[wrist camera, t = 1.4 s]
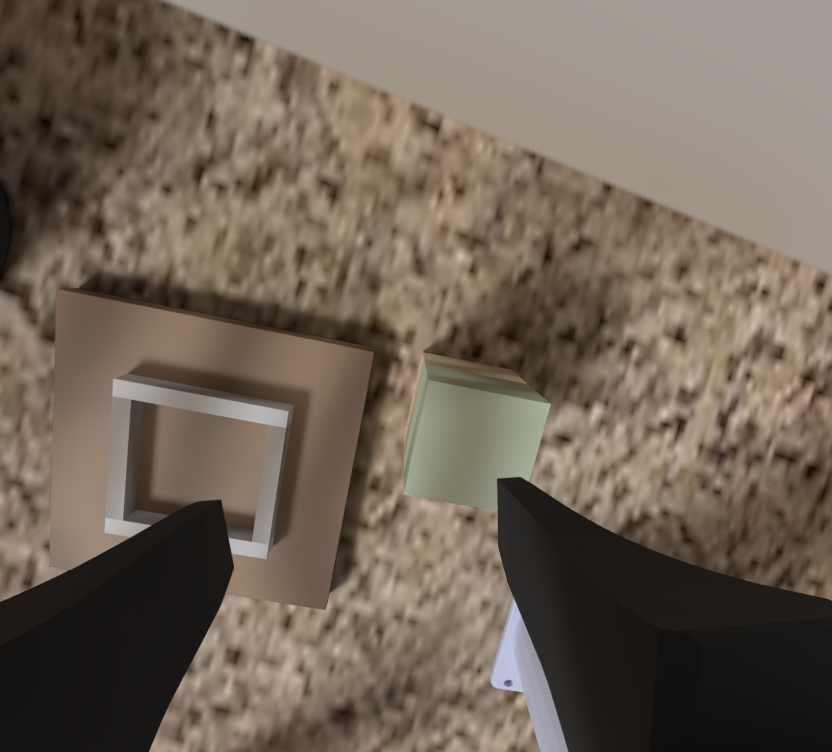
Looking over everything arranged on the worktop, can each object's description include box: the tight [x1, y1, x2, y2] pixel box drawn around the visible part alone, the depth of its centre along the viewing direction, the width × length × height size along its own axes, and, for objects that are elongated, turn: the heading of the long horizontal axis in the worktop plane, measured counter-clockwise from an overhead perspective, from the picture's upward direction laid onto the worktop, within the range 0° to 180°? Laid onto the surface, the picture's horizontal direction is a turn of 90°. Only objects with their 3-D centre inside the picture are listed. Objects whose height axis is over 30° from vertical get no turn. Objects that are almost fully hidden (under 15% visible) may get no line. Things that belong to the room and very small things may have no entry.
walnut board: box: [49, 288, 376, 610], centre depth 21 cm, size 14×14×2 cm
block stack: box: [404, 352, 551, 511], centre depth 19 cm, size 4×4×6 cm
